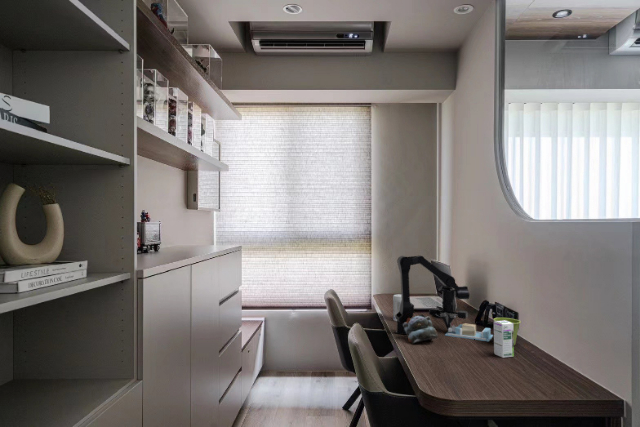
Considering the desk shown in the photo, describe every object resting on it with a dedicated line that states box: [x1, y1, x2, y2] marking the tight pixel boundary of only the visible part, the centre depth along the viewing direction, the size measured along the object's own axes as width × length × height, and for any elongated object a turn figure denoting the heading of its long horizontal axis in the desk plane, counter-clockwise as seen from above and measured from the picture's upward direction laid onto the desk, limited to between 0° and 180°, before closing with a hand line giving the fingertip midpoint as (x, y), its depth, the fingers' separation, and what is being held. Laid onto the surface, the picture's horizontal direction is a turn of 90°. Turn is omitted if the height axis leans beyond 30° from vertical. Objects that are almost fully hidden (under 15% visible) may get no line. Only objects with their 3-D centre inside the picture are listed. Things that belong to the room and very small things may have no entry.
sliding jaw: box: [447, 324, 462, 335], centre depth 217 cm, size 9×6×4 cm
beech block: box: [461, 322, 477, 336], centre depth 213 cm, size 4×6×5 cm, turn 59°
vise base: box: [444, 327, 494, 342], centre depth 213 cm, size 12×21×4 cm, turn 59°
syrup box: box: [493, 320, 515, 359], centre depth 182 cm, size 6×6×14 cm
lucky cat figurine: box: [403, 314, 439, 345], centre depth 204 cm, size 15×12×14 cm
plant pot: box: [493, 317, 522, 346], centre depth 199 cm, size 12×12×11 cm
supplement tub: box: [392, 293, 402, 323], centre depth 246 cm, size 10×10×15 cm
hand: (448, 329), depth 219 cm, fingers closed
